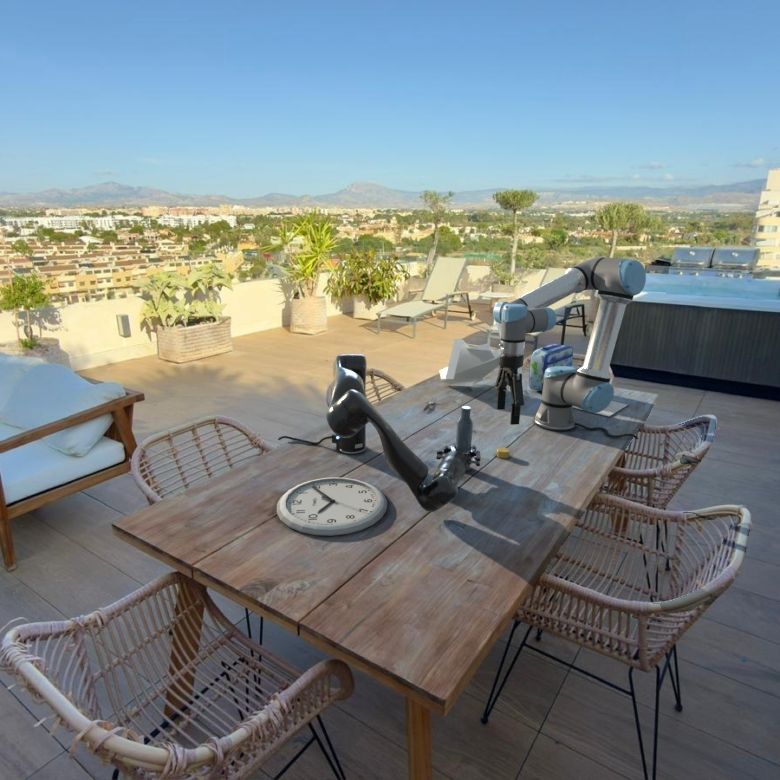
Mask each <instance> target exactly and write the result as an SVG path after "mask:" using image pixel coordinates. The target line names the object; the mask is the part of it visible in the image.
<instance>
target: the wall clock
mask: <svg viewBox="0 0 780 780" xmlns="http://www.w3.org/2000/svg"><path fill="white" fill-rule="evenodd" d="M387 509H388V500H387V498H386V496H385V494H384V493H383V492H382V491H381V490H380V489H379V488H377V487H376V486H374V485H372V484H371V483H369V482H365V481H362V480H359V479H355V478H349V477H338V476H337V477H335V476H333V477H332V476H331V477H322V478H317V479H312V480H307V481H305V482H302V483H299V484H297V485H295V486H293V487H292V488H290V489H288V490H287V491H286V492H285V493H284V494H283V495H281V496H280V498H279V499H278V502H277V503H276V515H277V517H278V518H279V520H280V521H281V522H282V523H283V524H285V525H286V526H287V527H288V528H290V529H293V530H295V531H297V532H299V533H303V534H308V535H312V536H327V537H328V536H329V537H331V536H332V537H333V536H342V535H350V534H352V533H356V532H361V531H363V530H366V529H368V528H369V527H372V526H373V525H375V524H376V523H378V522H379V521H380V520H381V519H382V518H383V517H384V516H385V514H386V512H387Z"/></svg>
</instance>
